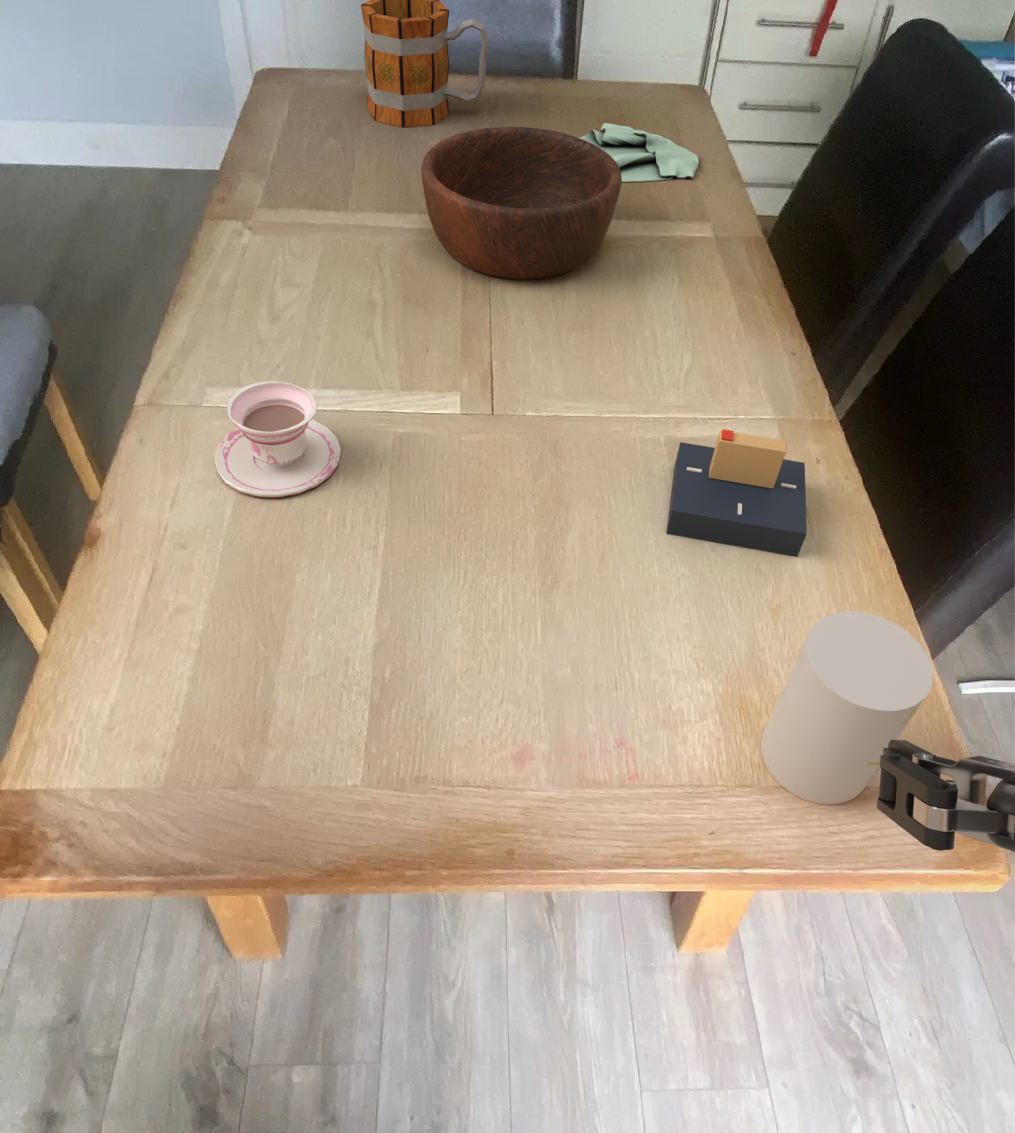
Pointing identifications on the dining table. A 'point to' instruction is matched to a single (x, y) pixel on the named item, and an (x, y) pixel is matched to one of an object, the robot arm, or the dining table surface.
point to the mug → (412, 61)
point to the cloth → (644, 154)
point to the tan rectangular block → (747, 459)
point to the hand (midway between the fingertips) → (966, 763)
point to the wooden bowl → (520, 199)
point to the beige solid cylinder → (844, 705)
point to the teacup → (275, 441)
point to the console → (737, 505)
